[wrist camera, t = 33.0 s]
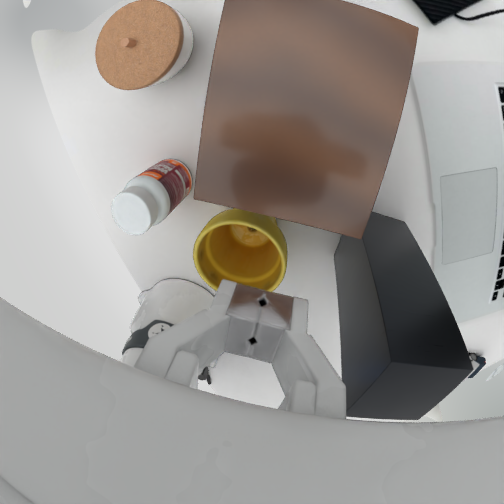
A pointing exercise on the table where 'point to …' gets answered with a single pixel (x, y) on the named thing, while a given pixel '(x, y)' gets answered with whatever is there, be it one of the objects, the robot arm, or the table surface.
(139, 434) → the robot arm
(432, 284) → the stand
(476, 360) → the toy car
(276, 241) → the flower pot
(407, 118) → the table surface
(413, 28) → the chest lid
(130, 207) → the pill bottle
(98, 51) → the trinket box
